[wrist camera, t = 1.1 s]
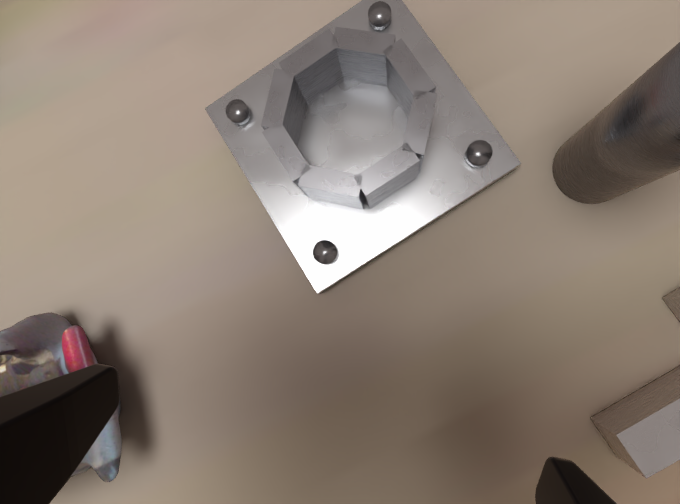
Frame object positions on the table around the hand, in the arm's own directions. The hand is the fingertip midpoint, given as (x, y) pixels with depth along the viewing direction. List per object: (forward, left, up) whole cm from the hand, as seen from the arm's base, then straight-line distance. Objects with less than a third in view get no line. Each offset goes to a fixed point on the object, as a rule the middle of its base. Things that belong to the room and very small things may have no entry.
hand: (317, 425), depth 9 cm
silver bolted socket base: (+9, -5, -13) cm, 17 cm away
